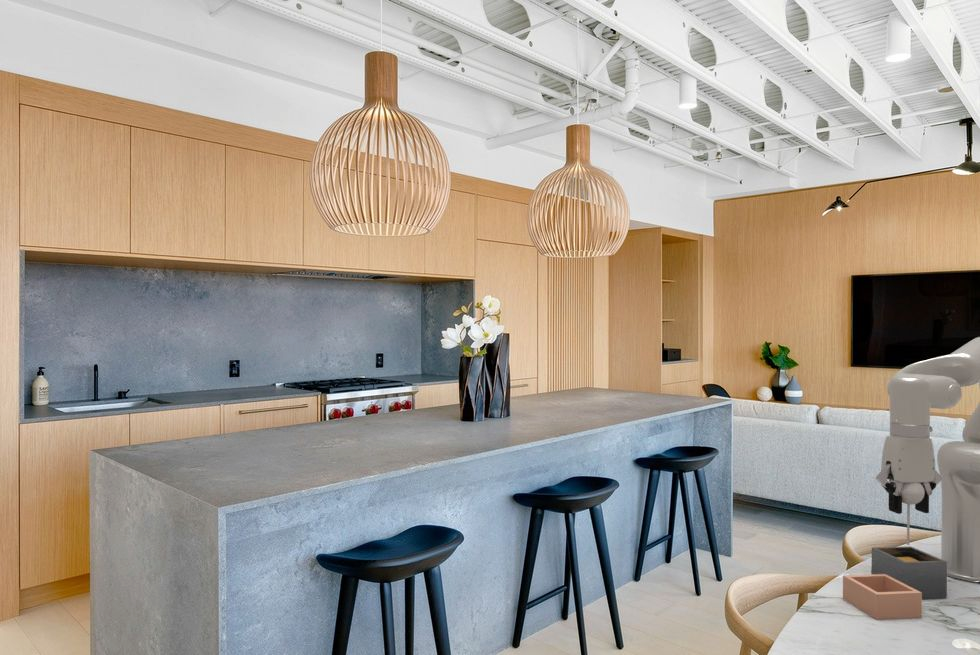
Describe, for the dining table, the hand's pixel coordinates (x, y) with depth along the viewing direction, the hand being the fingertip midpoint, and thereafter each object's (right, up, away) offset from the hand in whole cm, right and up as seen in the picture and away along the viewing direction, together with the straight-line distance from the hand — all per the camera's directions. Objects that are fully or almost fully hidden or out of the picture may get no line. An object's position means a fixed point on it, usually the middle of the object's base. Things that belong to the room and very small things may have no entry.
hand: (908, 511), depth 143 cm
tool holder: (-12, -17, -10) cm, 23 cm away
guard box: (0, -18, 0) cm, 18 cm away
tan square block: (0, -15, 0) cm, 15 cm away
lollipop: (0, -8, 0) cm, 8 cm away
